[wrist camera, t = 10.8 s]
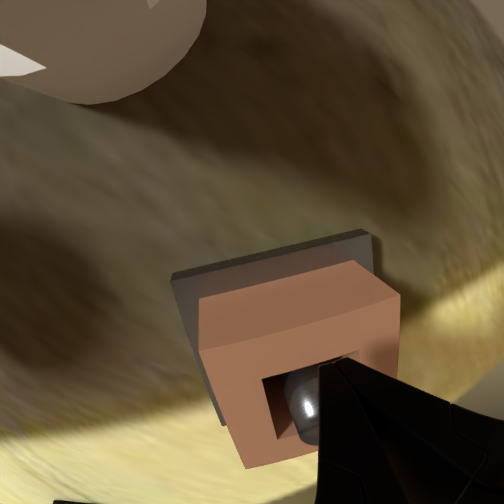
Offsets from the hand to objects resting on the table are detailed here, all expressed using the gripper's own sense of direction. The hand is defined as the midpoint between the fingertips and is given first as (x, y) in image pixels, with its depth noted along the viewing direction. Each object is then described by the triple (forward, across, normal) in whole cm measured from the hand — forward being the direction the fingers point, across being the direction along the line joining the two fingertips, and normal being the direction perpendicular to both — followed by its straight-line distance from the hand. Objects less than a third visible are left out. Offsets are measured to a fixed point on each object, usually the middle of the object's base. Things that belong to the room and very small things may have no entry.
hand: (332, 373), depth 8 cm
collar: (+6, 0, +3) cm, 7 cm away
